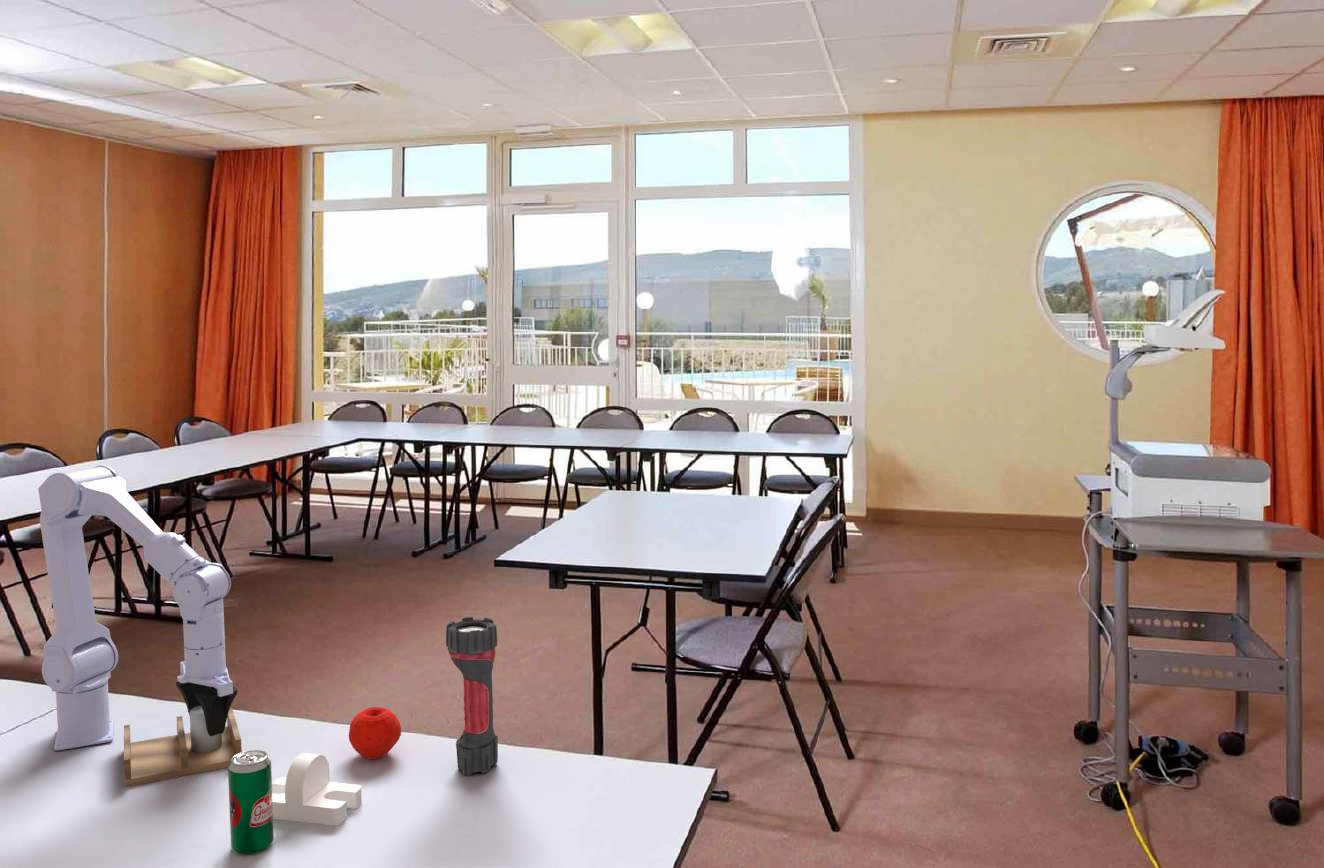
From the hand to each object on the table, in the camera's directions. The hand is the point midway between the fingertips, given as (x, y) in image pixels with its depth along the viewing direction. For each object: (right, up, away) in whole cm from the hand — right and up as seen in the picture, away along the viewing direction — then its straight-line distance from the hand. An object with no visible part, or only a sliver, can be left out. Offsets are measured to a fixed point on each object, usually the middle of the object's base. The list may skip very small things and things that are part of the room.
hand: (208, 728), depth 151 cm
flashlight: (+43, -5, -4) cm, 43 cm away
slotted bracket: (+22, -6, -17) cm, 28 cm away
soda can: (+18, -7, -27) cm, 33 cm away
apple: (+26, -4, 0) cm, 27 cm away
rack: (-3, -4, -1) cm, 5 cm away
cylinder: (0, -3, 0) cm, 3 cm away
